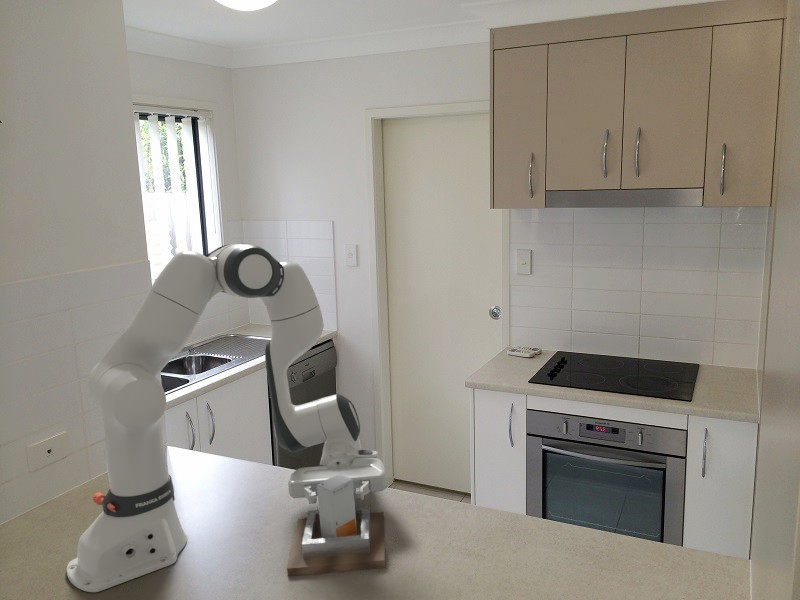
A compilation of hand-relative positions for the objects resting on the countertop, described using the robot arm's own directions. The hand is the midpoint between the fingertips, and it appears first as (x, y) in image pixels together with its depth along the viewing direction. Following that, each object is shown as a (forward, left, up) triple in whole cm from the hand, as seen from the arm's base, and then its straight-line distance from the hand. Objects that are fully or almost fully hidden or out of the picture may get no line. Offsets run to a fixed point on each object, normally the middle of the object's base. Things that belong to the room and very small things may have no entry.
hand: (335, 498), depth 133 cm
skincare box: (-1, -1, -8) cm, 8 cm away
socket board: (-1, -1, -9) cm, 9 cm away
